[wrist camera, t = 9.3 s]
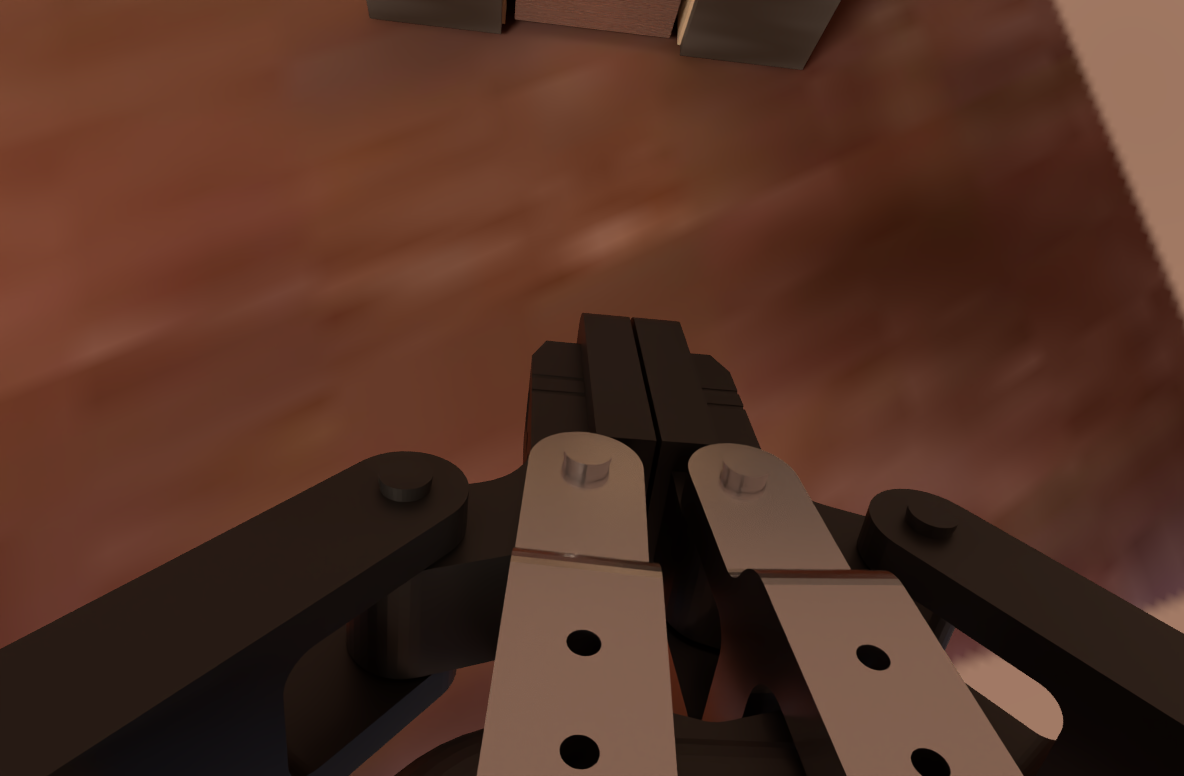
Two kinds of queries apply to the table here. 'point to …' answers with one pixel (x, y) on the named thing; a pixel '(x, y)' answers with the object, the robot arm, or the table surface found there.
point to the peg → (604, 14)
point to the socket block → (705, 25)
